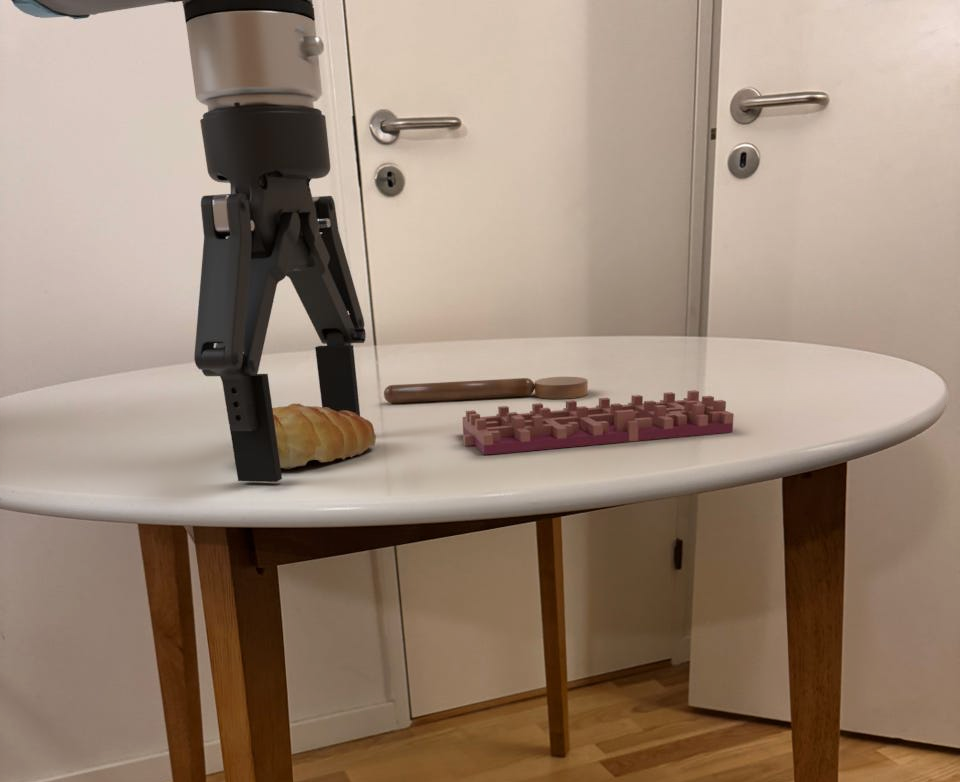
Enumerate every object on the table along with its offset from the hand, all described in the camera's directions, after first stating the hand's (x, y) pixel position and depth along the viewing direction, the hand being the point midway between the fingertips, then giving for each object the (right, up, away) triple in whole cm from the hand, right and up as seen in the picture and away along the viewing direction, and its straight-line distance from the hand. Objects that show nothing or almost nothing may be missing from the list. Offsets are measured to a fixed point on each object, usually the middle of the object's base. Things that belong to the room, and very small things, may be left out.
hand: (305, 456), depth 65 cm
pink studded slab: (+20, +2, +4) cm, 21 cm away
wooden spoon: (+13, +9, +19) cm, 25 cm away
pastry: (0, 0, 0) cm, 0 cm away
